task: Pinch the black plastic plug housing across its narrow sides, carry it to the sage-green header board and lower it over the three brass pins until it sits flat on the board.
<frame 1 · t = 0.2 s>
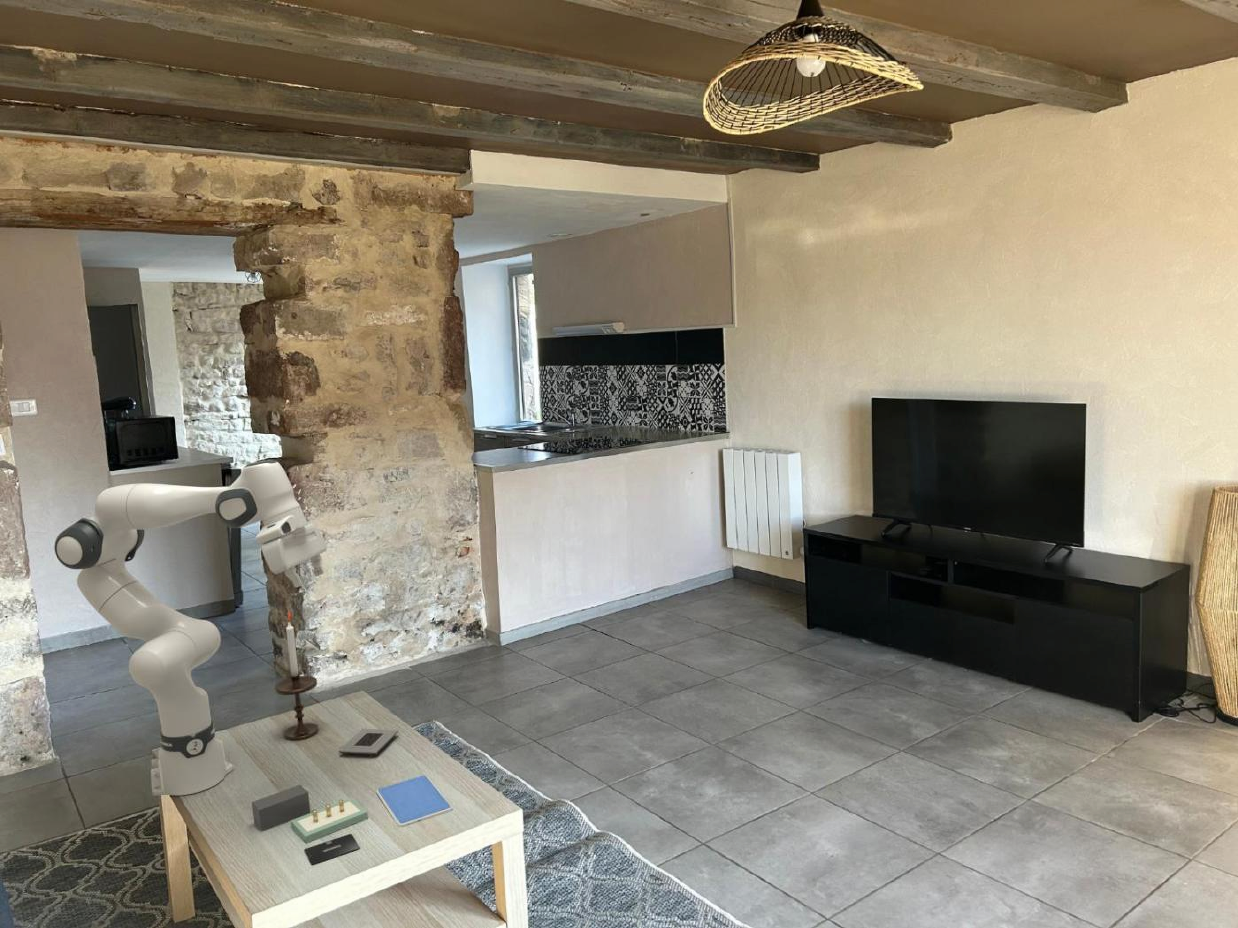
hand: (310, 580, 208), 51 cm above the table, tool tilted 20°, fingers open, 8 cm apart
candlestick: (301, 733, 248), on the table
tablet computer: (413, 803, 207), on the table
grey flat piece: (369, 748, 237), on the table
plug housing: (282, 817, 203), on the table
header board: (329, 822, 200), on the table
solid state drive: (332, 852, 189), on the table
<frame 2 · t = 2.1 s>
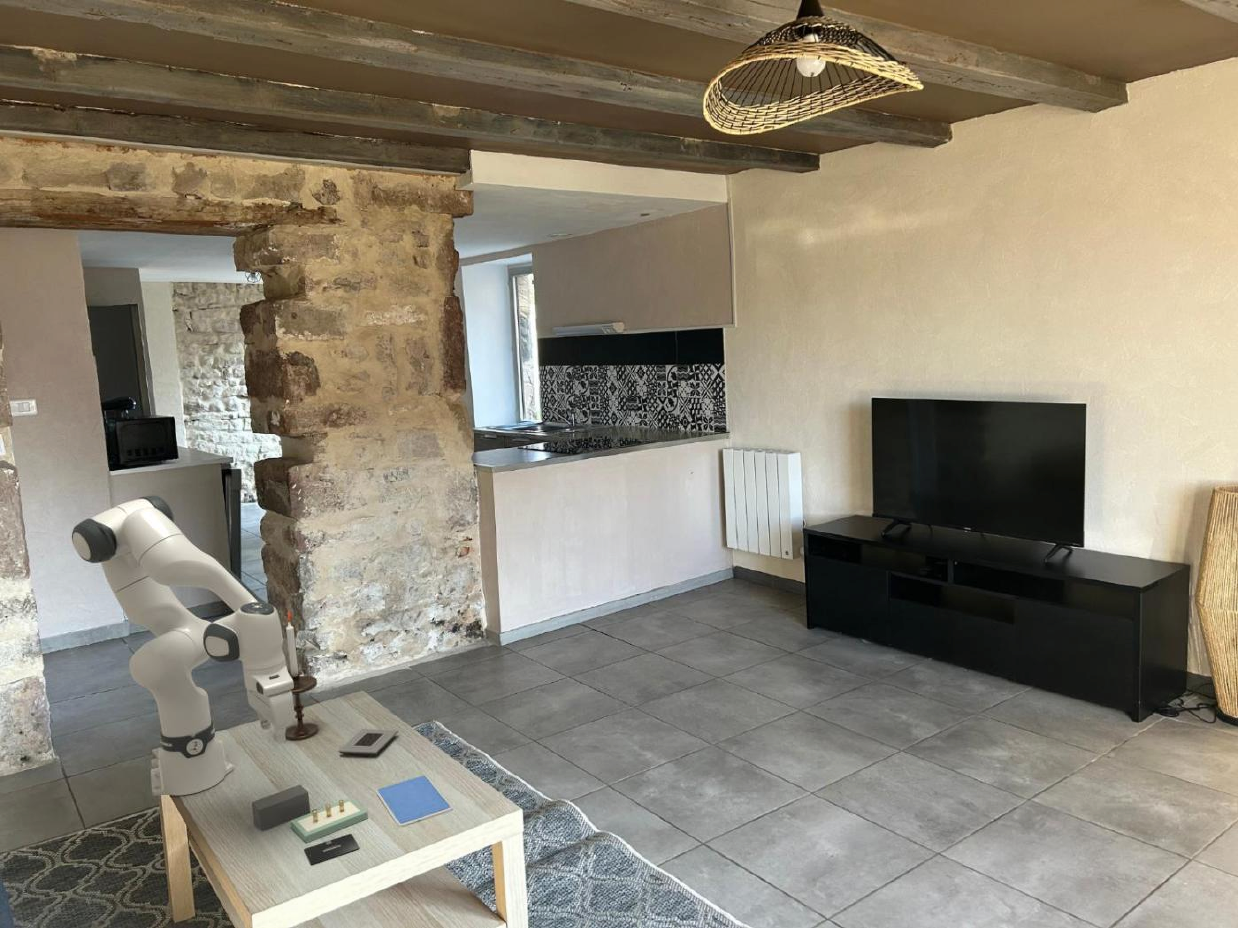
hand: (273, 734, 200), 20 cm above the table, tool pointing down, fingers open, 8 cm apart
nothing on the table moved.
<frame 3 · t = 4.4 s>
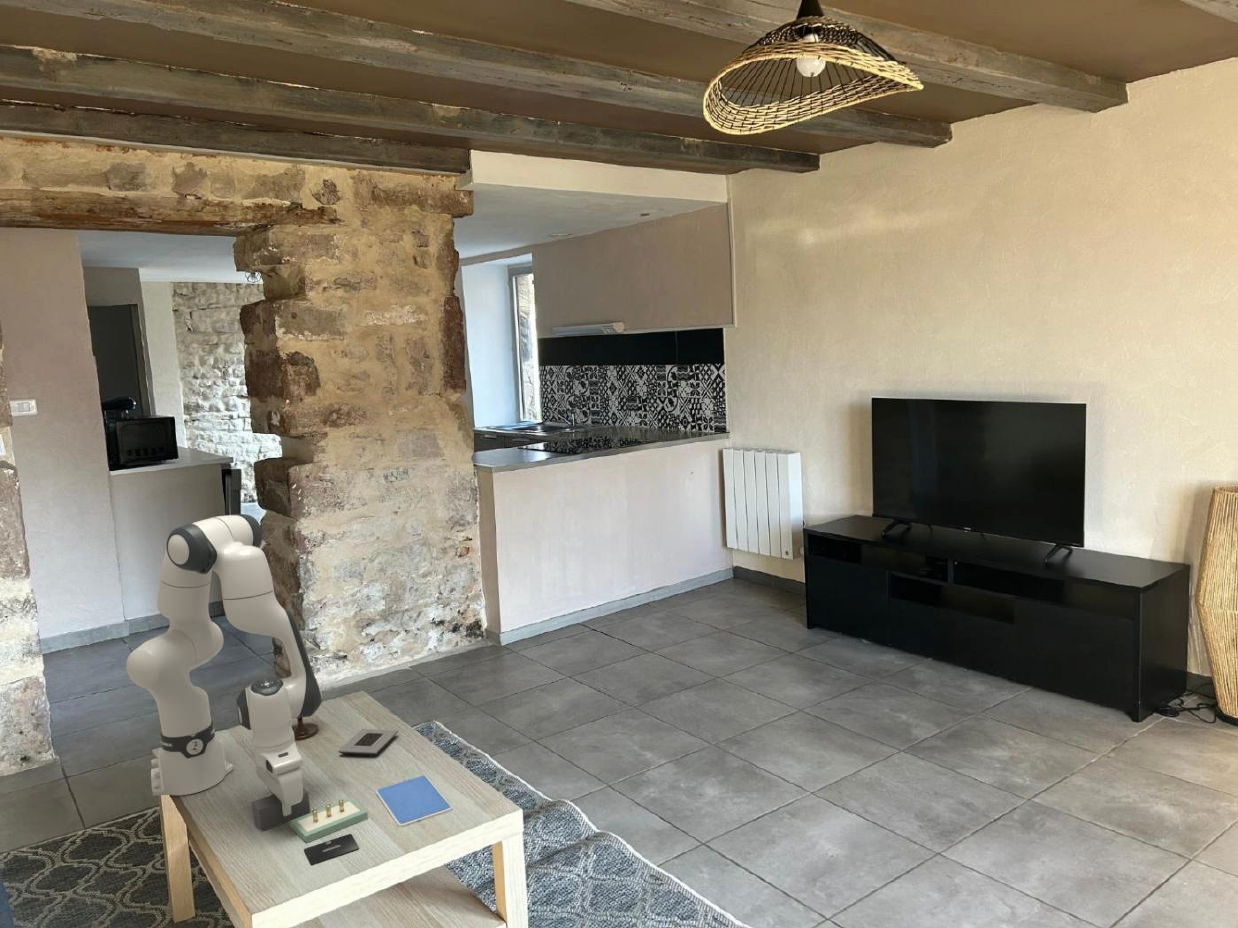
hand: (281, 808, 203), 2 cm above the table, tool pointing down, fingers closed on plug housing, 5 cm apart
plug housing: (282, 817, 203), on the table, touching gripper
everything else where it was.
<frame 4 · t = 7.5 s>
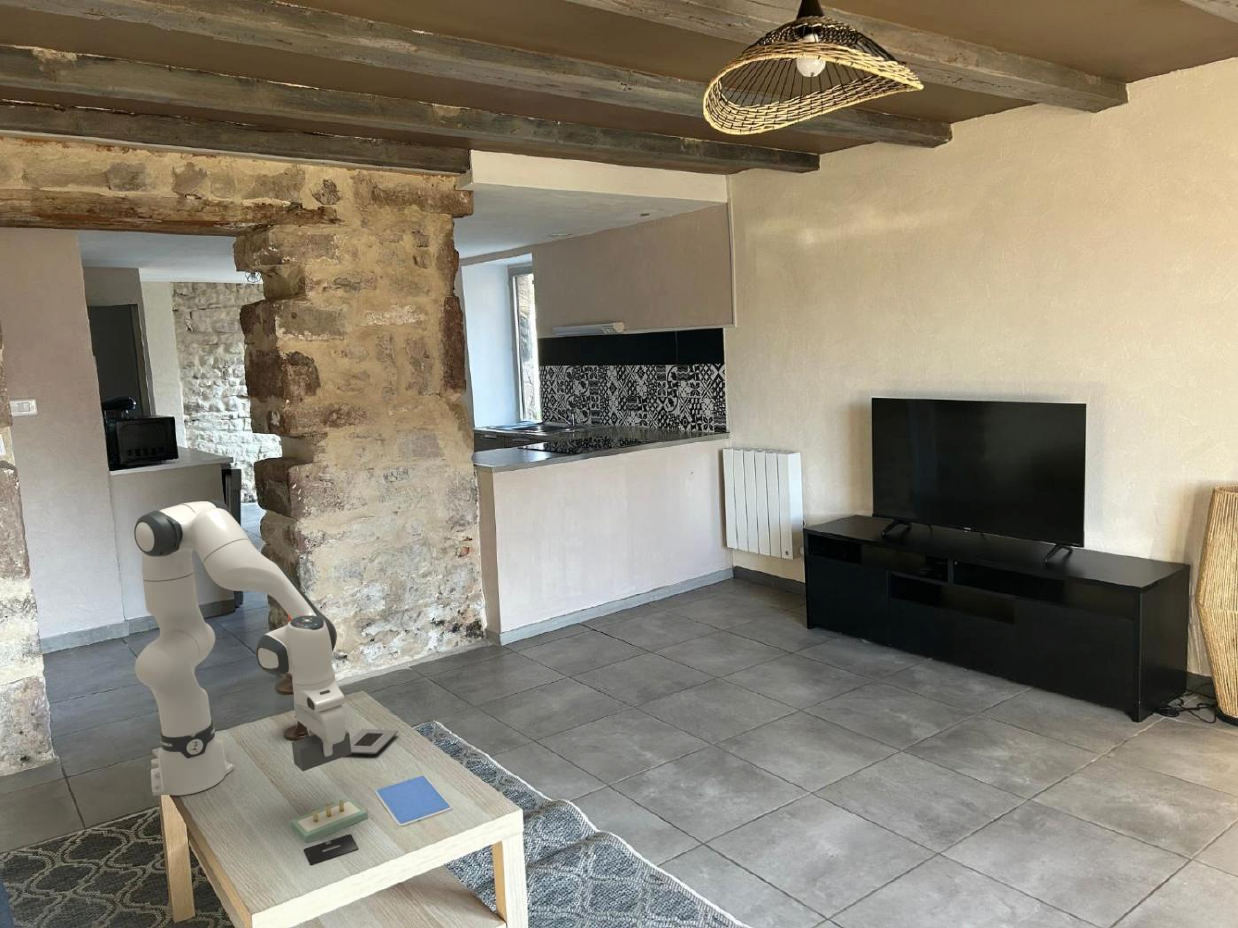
hand: (322, 749, 197), 17 cm above the table, tool pointing down, fingers closed on plug housing, 5 cm apart
plug housing: (323, 758, 198), point 15 cm above the table, touching gripper
everything else where it was.
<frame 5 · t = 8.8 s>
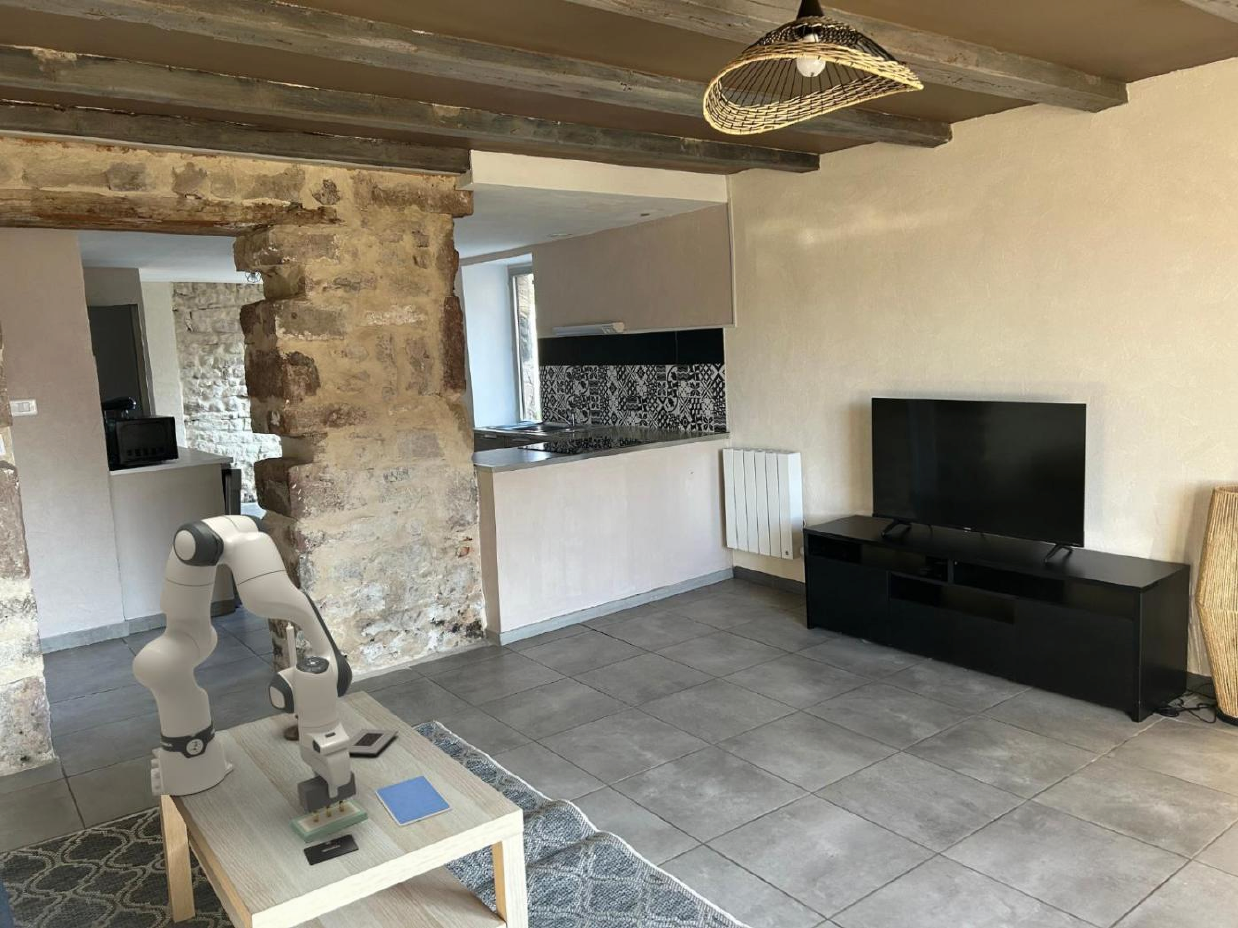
hand: (327, 790, 199), 7 cm above the table, tool pointing down, fingers closed on plug housing, 5 cm apart
plug housing: (328, 799, 199), point 5 cm above the table, touching gripper
everything else where it was.
when the fingers open (4 cm above the table, at t = 10.2 s): plug housing stays where it is, resting on header board.
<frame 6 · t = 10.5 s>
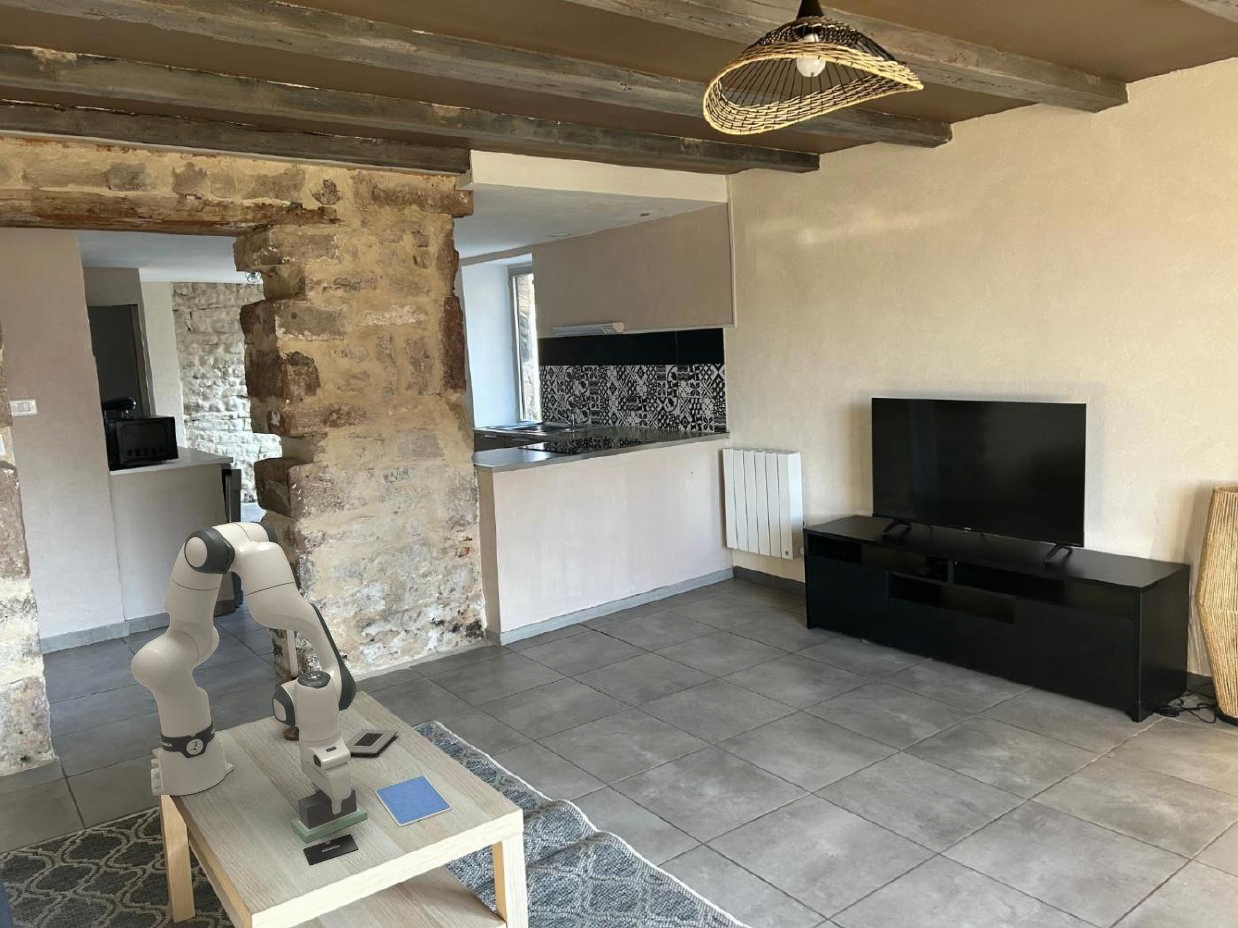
hand: (327, 804, 199), 4 cm above the table, tool pointing down, fingers open, 8 cm apart
plug housing: (329, 815, 200), point 2 cm above the table, touching header board
everything else where it was.
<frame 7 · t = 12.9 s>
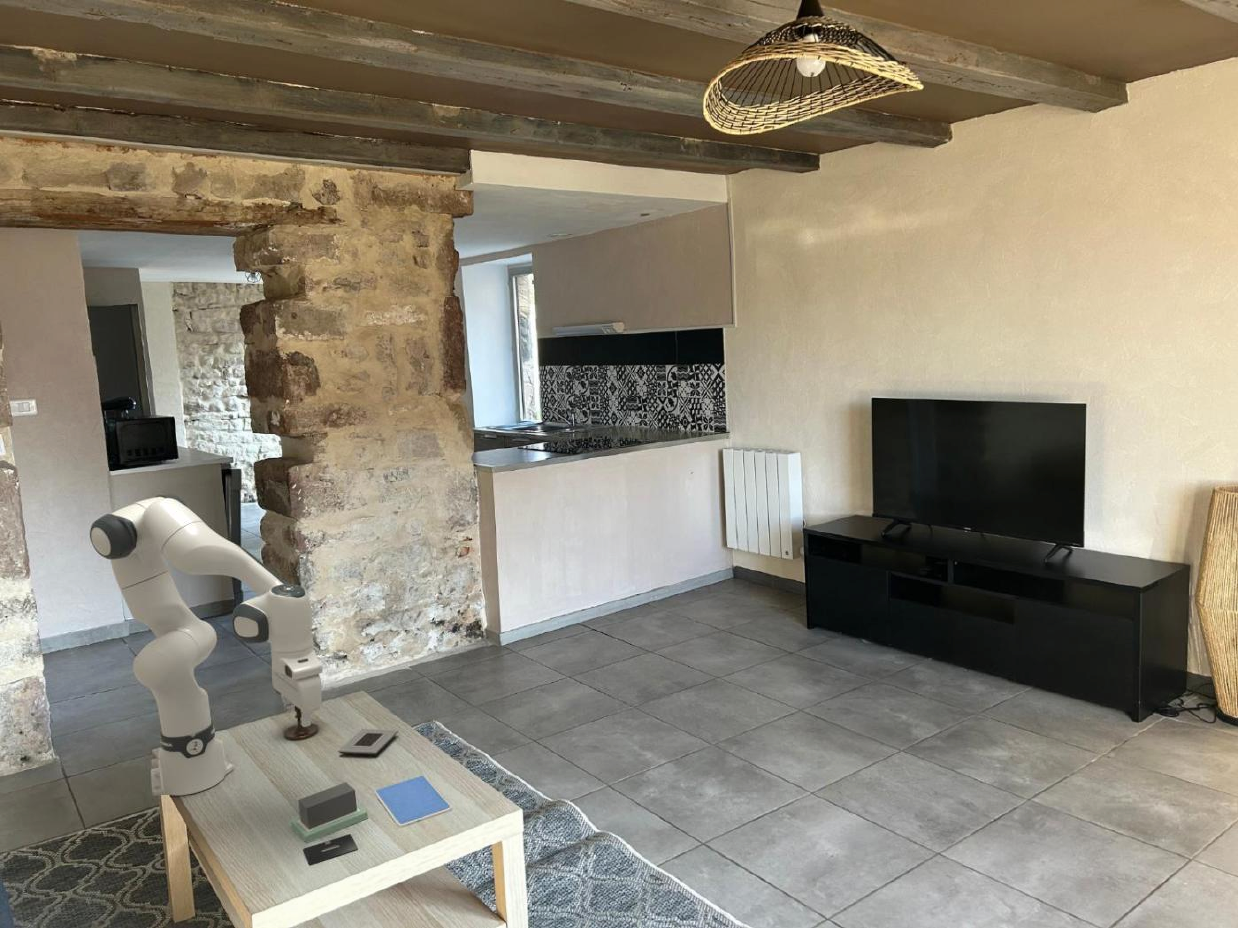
hand: (297, 718, 198), 24 cm above the table, tool pointing down, fingers open, 8 cm apart
nothing on the table moved.
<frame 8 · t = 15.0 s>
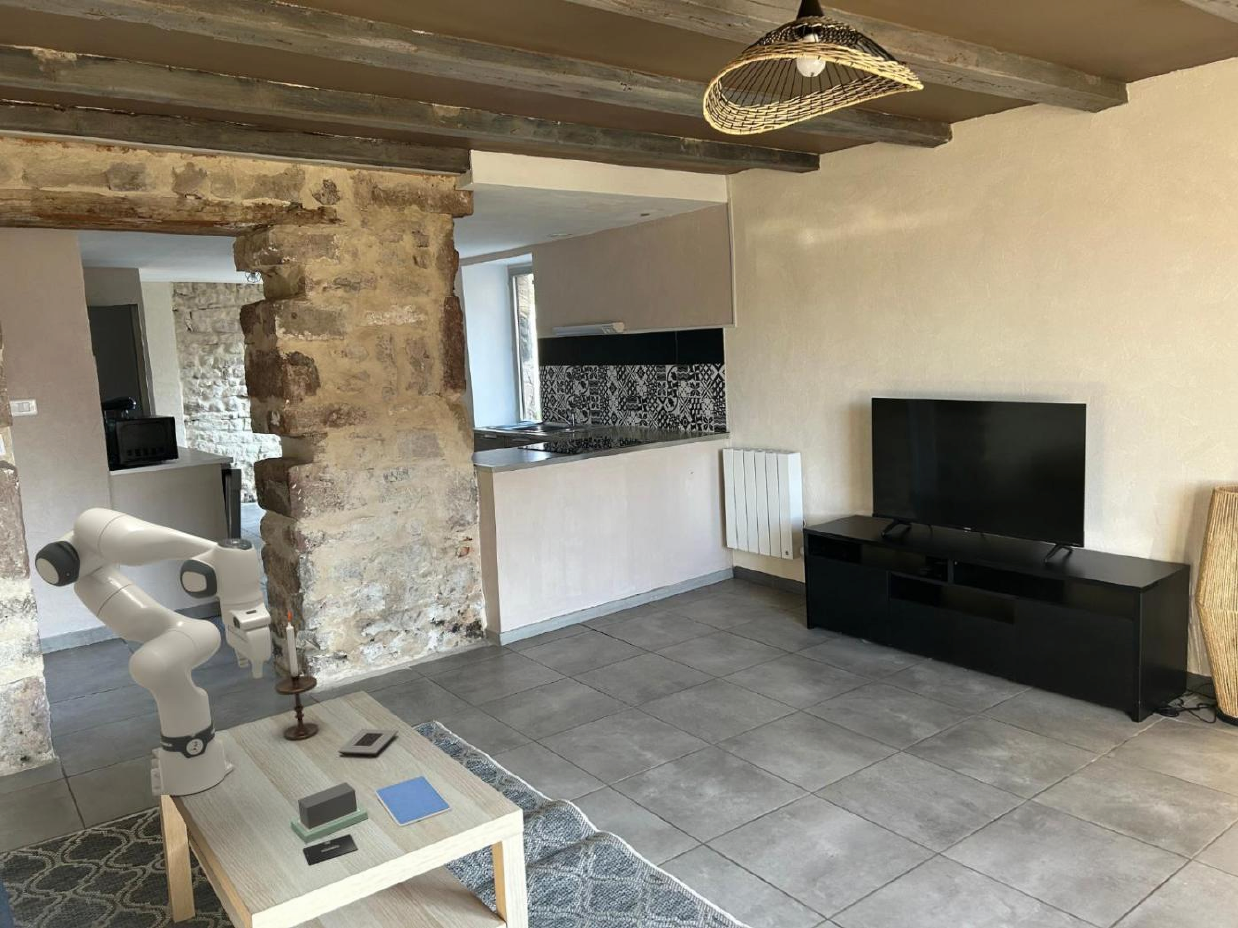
hand: (250, 671, 200), 34 cm above the table, tool pointing down, fingers open, 8 cm apart
nothing on the table moved.
at the end: plug housing 0.1 cm off-centre on the header board, point 1.5 cm above the header board's base; plug housing tilted 0°; the gripper is holding nothing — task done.
